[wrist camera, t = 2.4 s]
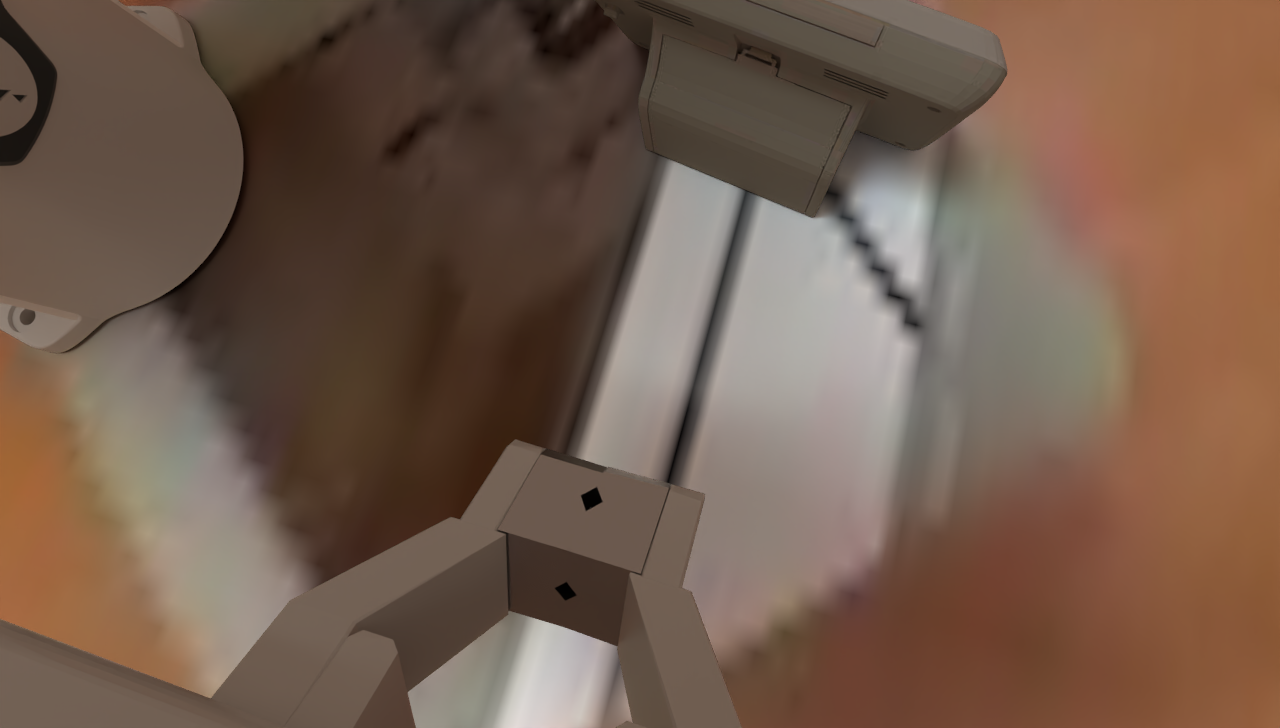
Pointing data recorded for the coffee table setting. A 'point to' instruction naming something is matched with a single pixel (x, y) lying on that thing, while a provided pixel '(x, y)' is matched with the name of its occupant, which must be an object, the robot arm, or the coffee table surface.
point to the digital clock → (800, 84)
